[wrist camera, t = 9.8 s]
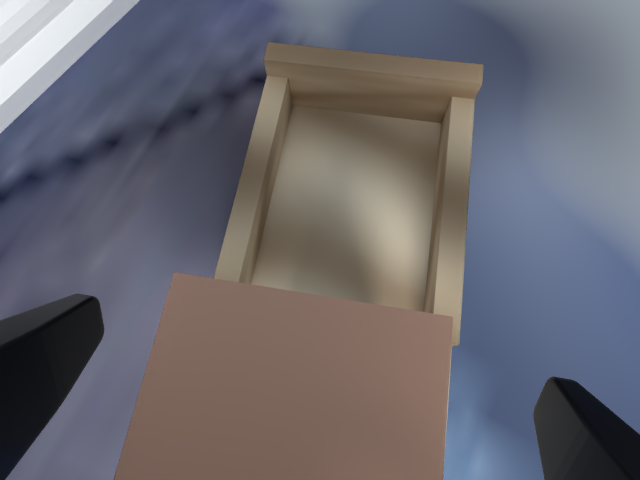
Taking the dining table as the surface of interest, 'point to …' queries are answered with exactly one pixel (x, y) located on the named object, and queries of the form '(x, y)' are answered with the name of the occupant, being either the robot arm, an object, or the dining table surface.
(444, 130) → the tray
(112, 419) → the dining table surface
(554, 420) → the robot arm
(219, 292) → the block
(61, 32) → the chess set
